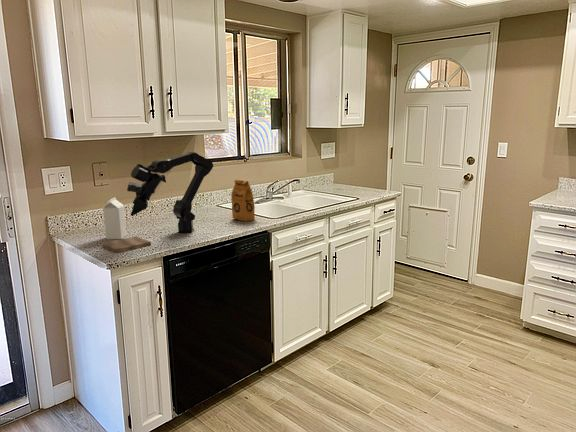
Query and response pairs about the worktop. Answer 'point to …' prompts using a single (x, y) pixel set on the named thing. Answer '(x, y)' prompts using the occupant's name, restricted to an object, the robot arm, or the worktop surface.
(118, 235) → the milk carton
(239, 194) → the coffee package
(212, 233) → the worktop surface
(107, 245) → the cutting board
